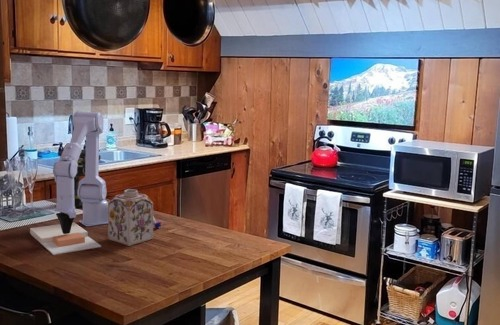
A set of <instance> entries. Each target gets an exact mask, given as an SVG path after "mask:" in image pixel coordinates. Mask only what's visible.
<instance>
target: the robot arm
mask: <svg viewBox="0 0 500 325" xmlns="http://www.w3.org/2000/svg"><path fill="white" fill-rule="evenodd" d="M72 127H73V131H72V135H71V137H70V141H69V142H68V143H66V144H65V146H64V148H63V150H62V151H63V153H62V155H61V157H60V156H59V160H57V161H56V162H54V164H53V168H52V174H53V176H54V182H55V183H56V203H55V206H56V207H54V208H53V211H54V212H58V213H55V214H56V217H57V219H58V221H59V224H60V225H61V229H62V232H63V234H68V233H70V231H71V226H72V223H73V222H74V219H75V218H77V212H76V207H75V206H74V177H75V176H76V174H77V166H78V163H77V161H78V159H79V156H80V154H81V150H82V148H81V145H82V143H83V141H84V140H85V150H86V163H85V174H84V177H83V178H81V179H79V182H78V191H77V194H78V197H79V199H81V202H83V207H82V220H78V222H79V223H81V224H82V225H83V226H85V227H93V226H100V225H108V203H109V202H108V201H107V200H106V199H107V198H106V197H107V193H108V192H107V190H108V189H107V184H106V183H107V182H106V181H105V179H103V178H102V177H100V176H99V173H100V172H99V168H100V167H99V165H100V164H99V161H100V160H99V155H100V135H101V134H103V132H104V117H103V115H102V113H101V112H99V111H98V112H94V111H93V112H92V111H90V112H89V111H78V110H77V111H75V112H74V113H73V115H72Z"/></svg>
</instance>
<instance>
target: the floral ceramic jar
mask: <svg viewBox="0 0 500 325" xmlns="http://www.w3.org/2000/svg"><path fill="white" fill-rule="evenodd" d="M153 215H154V202H153V201H152V199H150V197H149V196H148V195H147V194H143V193H139V191H138V190H137V189H134V188H133V189H132V188H128V189H124V191H123V193H120V194H116V195H114V197H113V198H111V200H109V202H108V223H107V237H108V238H107V239H108V240H109V241H113V242H117V243H119V244H122V245H125V246H127V247H131V246H134V245H137V244H141V243H144V242H147V241H150V240H153V239H154V225H153Z"/></svg>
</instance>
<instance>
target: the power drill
mask: <svg viewBox="0 0 500 325" xmlns="http://www.w3.org/2000/svg"><path fill="white" fill-rule="evenodd" d="M59 152H60V153H59V158H60V157H61V155H62V153H63V150H60V151H59ZM99 161H101V155H100V154H99ZM77 163H78V166H77V174H76V176H75V177H74V206H75V208H83V202H81V199H79V197H78V194H77V191H78V187H79V181H80V176H85V163H86V149H81V154H80V156H79V159H78V161H77Z"/></svg>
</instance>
